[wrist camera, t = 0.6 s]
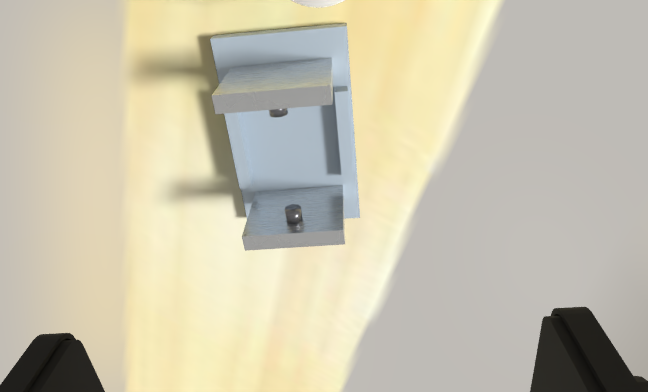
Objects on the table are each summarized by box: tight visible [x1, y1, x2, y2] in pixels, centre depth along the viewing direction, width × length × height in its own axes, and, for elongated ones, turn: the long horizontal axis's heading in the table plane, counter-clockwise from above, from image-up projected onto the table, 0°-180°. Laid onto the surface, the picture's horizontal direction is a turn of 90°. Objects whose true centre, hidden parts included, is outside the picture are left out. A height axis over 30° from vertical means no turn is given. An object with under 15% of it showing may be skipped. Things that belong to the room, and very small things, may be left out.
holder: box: [210, 23, 360, 219], centre depth 31 cm, size 13×8×2 cm, turn 5°
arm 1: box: [211, 58, 333, 118], centre depth 27 cm, size 2×6×6 cm, turn 95°
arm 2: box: [242, 185, 345, 250], centre depth 31 cm, size 2×6×6 cm, turn 95°
